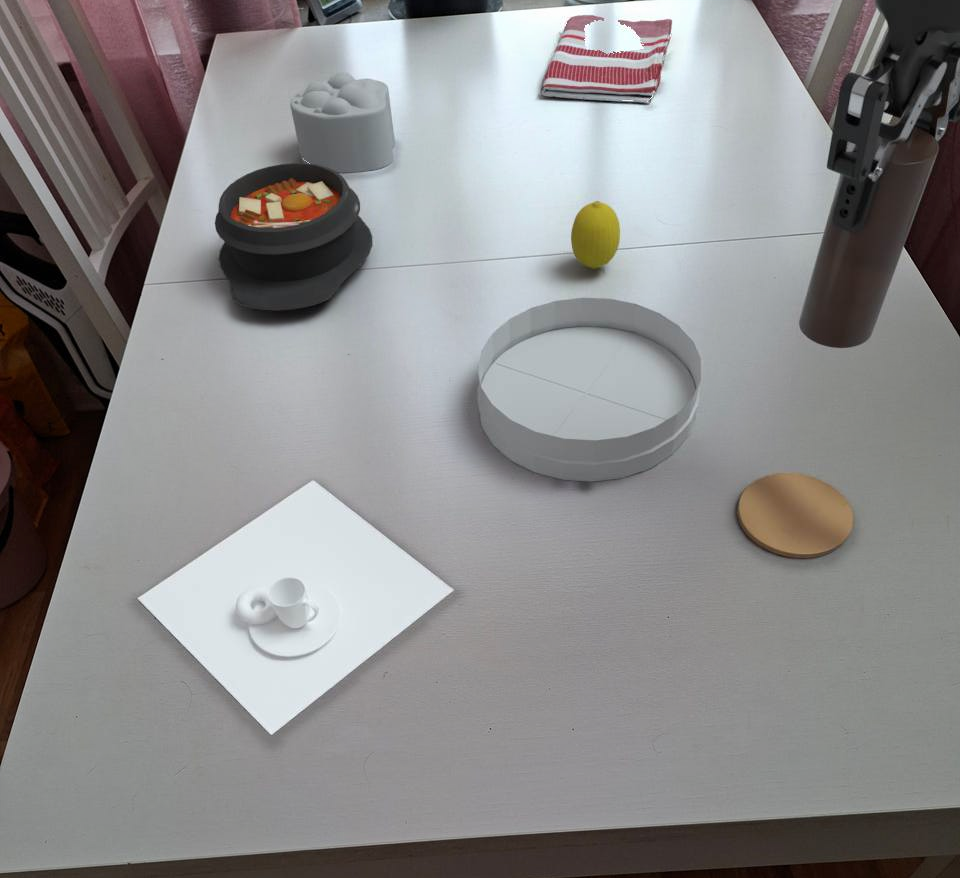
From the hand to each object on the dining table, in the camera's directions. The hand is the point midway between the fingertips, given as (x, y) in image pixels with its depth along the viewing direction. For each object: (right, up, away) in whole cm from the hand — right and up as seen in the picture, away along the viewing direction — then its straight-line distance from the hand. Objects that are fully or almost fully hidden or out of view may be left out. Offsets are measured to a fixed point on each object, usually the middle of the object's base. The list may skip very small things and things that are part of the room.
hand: (874, 209), depth 62 cm
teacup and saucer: (-44, -26, +16) cm, 54 cm away
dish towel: (-8, +57, +72) cm, 92 cm away
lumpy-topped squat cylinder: (-46, +37, +61) cm, 85 cm away
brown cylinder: (0, -5, +8) cm, 10 cm away
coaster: (+1, -19, +18) cm, 26 cm away
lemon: (-14, +13, +42) cm, 47 cm away
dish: (-17, -6, +28) cm, 34 cm away
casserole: (-50, +16, +46) cm, 70 cm away
